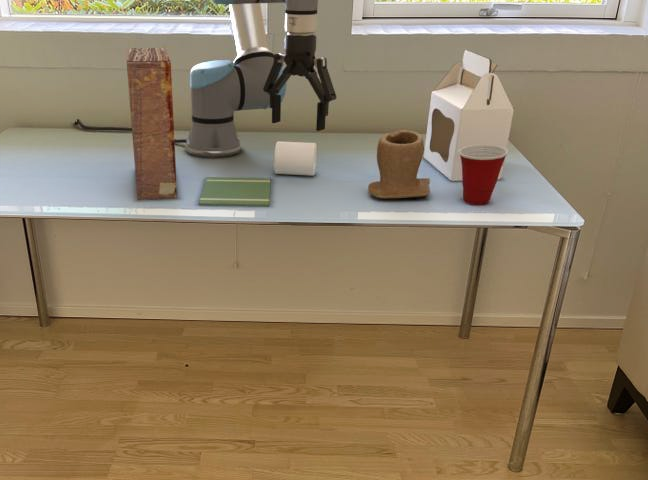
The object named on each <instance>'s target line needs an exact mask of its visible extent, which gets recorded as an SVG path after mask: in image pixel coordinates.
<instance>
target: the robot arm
mask: <svg viewBox="0 0 648 480" xmlns="http://www.w3.org/2000/svg"><path fill="white" fill-rule="evenodd" d="M211 2H212V3H213V4H215V5H224V6H228V7H229V8H228V9H229V12H230V19H231V25H232V30H233V36H234V41H235V47H236V53H237V56H236V57H235V59H234V60H233V61H232V60H230V59H219V60H218V59H215V60H209V61H205V62H201V63H198V64H196V65H194V66H193V67H192V68H191V70H190V72H189V88H190V111H191V125H190V128H189V132H188V138H179V139H177V138H174V141H175V144H180V143H185V147H186V153H188V155H191V156H194V157H200V158H212V159H213V158H225V157H231V156H235V155H237V154H239V153H240V152H241V141H240V139H239V136H240V135H239V133H238V131H237V129H236V126H235V125H236V124H235V121H234V118H235V117H234V114H235V113H234V112H239V111H252V110H253V111H254V110H267V109H271V123H272V124H276V123H280V122H281V118H282V117H281V114H282V112H281V111H282V103H283V101H284V99H285V95H286V91H287V87H288V86H287V85H288V80H289V79H290V78H291V76H298V77H304V78H305V79H306V80H307V81H308V82H309V84H310V86H311V88H312V89H313V91H314V93H315V95H316V97H317V99H318V100H319V102H317V103H316V126H315V127H316V128H315V130H316V131H317V132H320V131H324V130H325V129H326V117H328V116H329V106H330V105H329V104H330V102H331V101H335V100H337V93H336V90H335V88H334V85H333V82H332V79H331V76H330V72H329V70H328V60H327V58H326V57H319V58H316V51H317V35H316V34H315V33H317V31H318V7H319V6H318V5H319V0H211ZM262 4H284V5H285V7H284V13H285V15H284V32H285V33H287V34H285V35H284V51H285V54H284V53H283V52H278V53H275V52H273V51H272V50H270V49H269V46H268V40H267V34H266V27H265V22H264V17H263V11H262V6H261V5H262ZM284 64H285V65H286V66H285V65H284ZM315 68H316V69H315ZM76 120H77V122H76ZM76 120H75V121H74V124H73V125H79V126H80V127H81V128H82V129H84V130H90V131H123V132H124V131H127V132H132V127H129V126H128V127H124V126H90V125H85V124H84V123H83V122H82V120H81V119H79V118H77V119H76Z"/></svg>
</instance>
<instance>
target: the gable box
mask: <svg viewBox="0 0 648 480" xmlns="http://www.w3.org/2000/svg"><path fill="white" fill-rule="evenodd" d="M497 66H498V64H496V63H494V62H493V61H492V59H491V58H489V57H486V56H484V55H481V54H479V53H477V52H474V51H471V50H468V49H465V50H464V52H463V56H462V60H460V61H458V62H456V63H454V65H452V66H451V68H450V69H449V71H448V72H447V73H446V74H445V76H443V78H442V79H441V80H440V82H439V83H438V84H437V86H436V87H434V89H433V90H432V91H431V95H430V103H429V111H428V119H427V127H426V135H425V143H424V153H423V158H424V160H426V161H427V162H428V163H429V164H431V165H432V166H433V167H434V168H435V169H437V170H438V171H439V172H440V173H441V174H442V175H444V176H445V177H446V178H447V179H448V180H450V181H451V182H462V163H461V156H460V155H459V152H458V151H459V150H460V149H461V148H463V147H466V146H472V145H496V146H501V147H504V148H506V149H507V150H508V144H509V138H510V134H511V129H512V121H513V116H514V112H515V111H514V110H515V108H514V107H513V105H512V103H511V102H510V99H509V97H508V95H507V92H506V90H505V89H504V86H503V84H502V83H501V80H500V78H499V76H498V75H497V74H496V73H494V71H495V70H496V69H497ZM475 76H478V77H480V78H479V80H478V81H476V78H475ZM505 161H506V159H505V160H504V162H503V165H502V167H501V170H500V173H499V176H498V179H497V181H501V179H502V176H503V172H504V166H505Z"/></svg>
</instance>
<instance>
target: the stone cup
mask: <svg viewBox="0 0 648 480" xmlns="http://www.w3.org/2000/svg"><path fill="white" fill-rule="evenodd" d="M424 150H425V143H424V139H423V135H422V134H421V133H419V132H417V131H414V130H408V129H400V130H396V131H394V132H387V133H385V134H383V135H381V137H380V138H379V139H378V142H377V147H376V162H377V166H378V172H379V180H378V181H372V182H370V183H369V184H368V186H367V191H368V192H369V193H370V195H371V196H373V197H376V198H378V199H406V198H407V199H408V198H420V197H430V194H431V191H430V183H431V178H428V177H427V178H425V177H424V178H423V177H422V178H419V177H418V173H419V168H420V166H421V163H422V160H423V158H424Z"/></svg>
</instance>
